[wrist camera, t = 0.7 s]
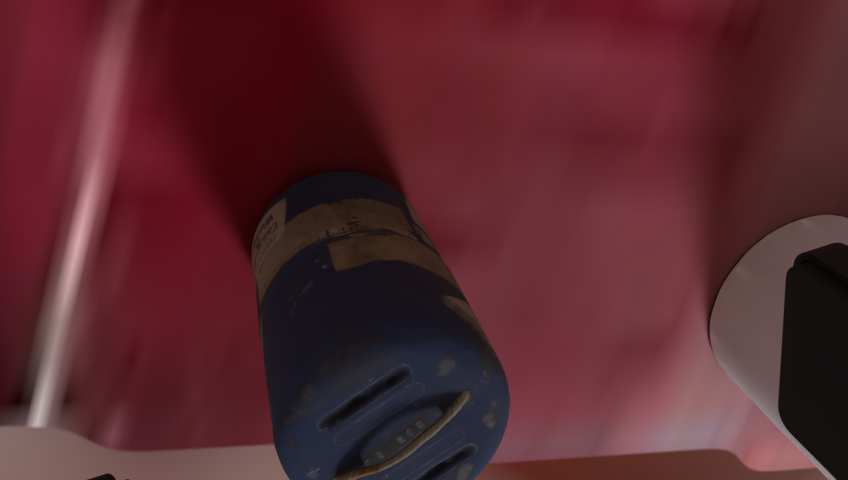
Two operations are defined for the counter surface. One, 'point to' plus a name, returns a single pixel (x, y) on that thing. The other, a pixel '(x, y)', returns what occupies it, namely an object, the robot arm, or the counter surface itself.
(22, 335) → the counter surface
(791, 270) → the robot arm
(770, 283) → the utensil holder
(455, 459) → the blue cylindrical canister
